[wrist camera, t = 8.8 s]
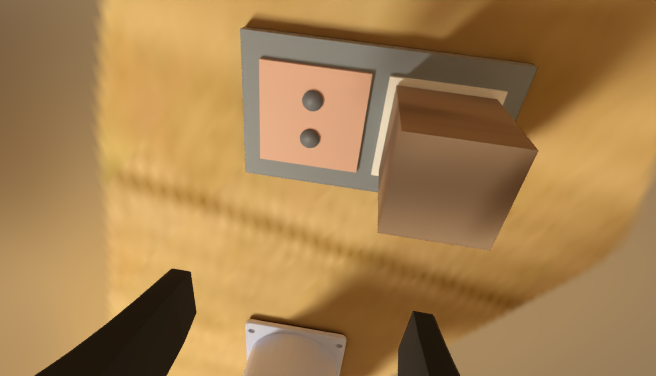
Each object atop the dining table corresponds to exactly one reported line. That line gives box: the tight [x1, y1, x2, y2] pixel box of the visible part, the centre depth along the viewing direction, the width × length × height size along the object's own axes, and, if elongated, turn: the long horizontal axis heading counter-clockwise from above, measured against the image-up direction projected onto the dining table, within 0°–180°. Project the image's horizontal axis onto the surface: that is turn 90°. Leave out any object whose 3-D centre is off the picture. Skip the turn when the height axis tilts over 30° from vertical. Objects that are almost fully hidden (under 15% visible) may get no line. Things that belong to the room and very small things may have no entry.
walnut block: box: [378, 85, 538, 251], centre depth 15 cm, size 4×4×5 cm
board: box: [240, 27, 538, 192], centre depth 18 cm, size 8×13×1 cm, turn 84°
